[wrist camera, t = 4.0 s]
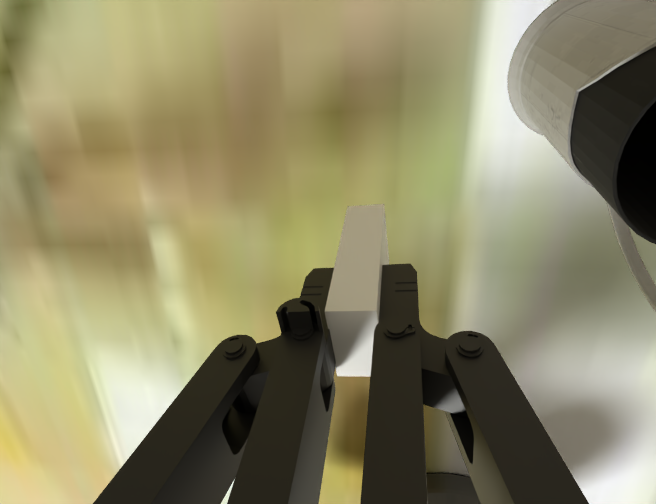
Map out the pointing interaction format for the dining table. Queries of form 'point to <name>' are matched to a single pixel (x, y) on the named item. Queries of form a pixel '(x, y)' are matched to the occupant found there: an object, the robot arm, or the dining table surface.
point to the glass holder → (597, 106)
